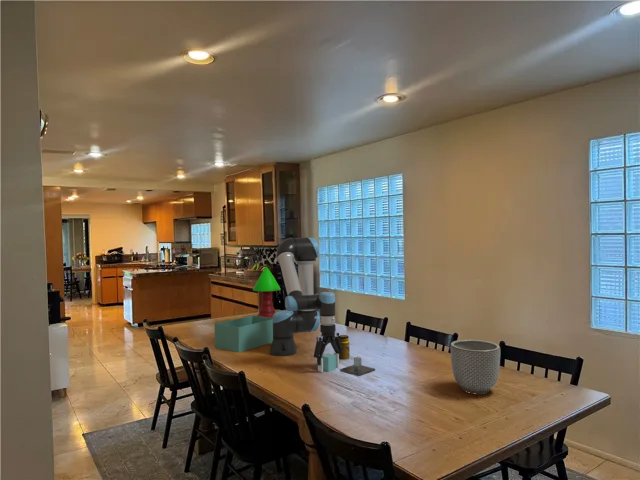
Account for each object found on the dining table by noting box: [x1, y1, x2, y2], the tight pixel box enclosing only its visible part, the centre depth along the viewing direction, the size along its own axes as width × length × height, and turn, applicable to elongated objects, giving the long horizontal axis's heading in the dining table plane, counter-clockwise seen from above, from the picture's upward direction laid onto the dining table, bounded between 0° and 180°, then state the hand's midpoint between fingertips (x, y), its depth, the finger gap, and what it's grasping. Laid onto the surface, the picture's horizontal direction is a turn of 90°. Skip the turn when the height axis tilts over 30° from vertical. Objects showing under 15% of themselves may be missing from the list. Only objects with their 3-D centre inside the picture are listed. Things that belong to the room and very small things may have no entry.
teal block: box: [322, 353, 337, 372], centre depth 218 cm, size 5×5×7 cm
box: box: [214, 315, 273, 353], centre depth 272 cm, size 21×32×14 cm, turn 144°
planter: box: [449, 339, 501, 395], centre depth 185 cm, size 20×20×19 cm
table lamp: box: [252, 266, 281, 318], centre depth 314 cm, size 20×20×45 cm
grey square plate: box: [339, 356, 376, 377], centre depth 215 cm, size 12×12×6 cm
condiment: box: [339, 334, 353, 362], centre depth 237 cm, size 7×8×12 cm
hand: (328, 369), depth 218 cm, fingers open, 11 cm apart
